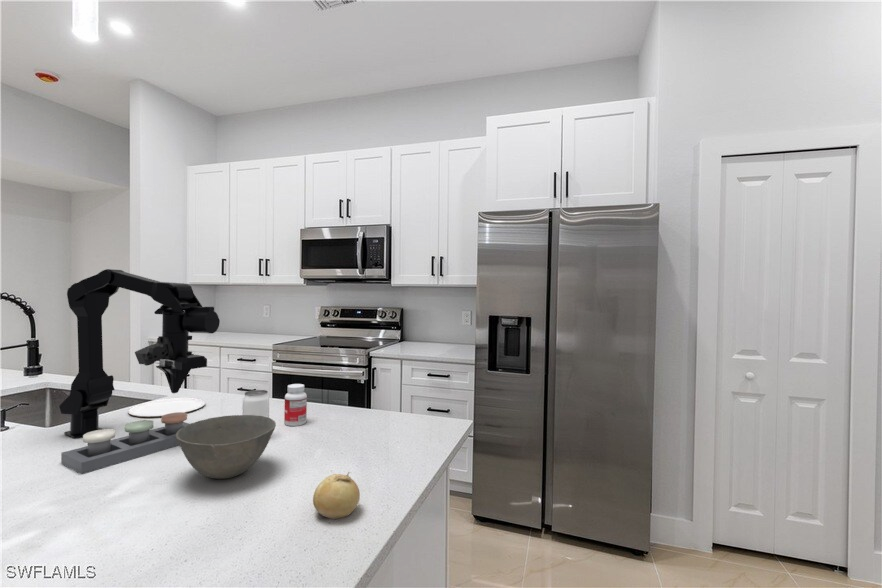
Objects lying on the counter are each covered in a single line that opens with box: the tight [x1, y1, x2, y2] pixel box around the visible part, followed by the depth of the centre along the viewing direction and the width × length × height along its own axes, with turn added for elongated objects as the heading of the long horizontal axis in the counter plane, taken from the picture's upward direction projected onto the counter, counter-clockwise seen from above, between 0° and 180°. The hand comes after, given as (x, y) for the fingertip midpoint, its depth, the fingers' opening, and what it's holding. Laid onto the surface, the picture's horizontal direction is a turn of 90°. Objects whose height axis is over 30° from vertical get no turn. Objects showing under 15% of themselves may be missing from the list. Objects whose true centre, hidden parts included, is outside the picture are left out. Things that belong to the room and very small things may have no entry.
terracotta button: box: [160, 412, 188, 434], centre depth 108 cm, size 6×6×4 cm
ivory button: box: [82, 428, 116, 455], centre depth 94 cm, size 6×6×4 cm
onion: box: [312, 471, 361, 520], centre depth 75 cm, size 8×8×7 cm
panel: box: [60, 421, 190, 475], centre depth 101 cm, size 10×26×2 cm, turn 150°
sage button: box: [124, 419, 155, 444], centre depth 101 cm, size 6×6×4 cm
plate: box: [127, 397, 206, 418], centre depth 135 cm, size 21×21×1 cm
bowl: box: [176, 414, 277, 480], centre depth 89 cm, size 19×19×10 cm
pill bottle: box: [283, 383, 308, 427], centre depth 123 cm, size 6×6×11 cm
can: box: [241, 389, 270, 418], centre depth 111 cm, size 6×6×12 cm
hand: (174, 392), depth 108 cm, fingers closed
